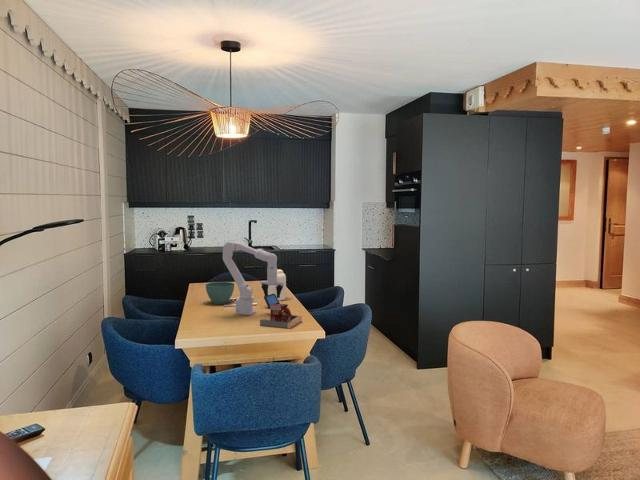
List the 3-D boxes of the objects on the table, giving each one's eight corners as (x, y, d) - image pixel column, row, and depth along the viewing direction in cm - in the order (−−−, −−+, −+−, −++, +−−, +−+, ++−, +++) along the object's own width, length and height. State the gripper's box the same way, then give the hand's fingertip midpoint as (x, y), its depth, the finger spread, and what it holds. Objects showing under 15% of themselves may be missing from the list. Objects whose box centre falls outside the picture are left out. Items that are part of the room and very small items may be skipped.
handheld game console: (277, 310, 292) (277, 298, 291) (263, 308, 297) (263, 296, 296) (288, 306, 303) (288, 294, 302) (274, 304, 308) (274, 293, 307)
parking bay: (259, 325, 254) (259, 319, 254) (272, 318, 269) (272, 313, 269) (290, 328, 249) (290, 322, 248) (301, 321, 264) (301, 316, 263)
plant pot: (237, 304, 306) (237, 285, 305) (208, 306, 299) (208, 287, 298) (231, 299, 323) (231, 281, 322) (203, 301, 316) (203, 282, 315)
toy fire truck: (288, 326, 254) (288, 306, 253) (267, 324, 258) (267, 304, 257) (293, 323, 260) (293, 304, 260) (272, 321, 264) (272, 302, 264)
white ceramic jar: (265, 300, 318) (265, 270, 317) (269, 297, 330) (269, 268, 329) (283, 301, 316) (283, 271, 315) (287, 297, 329) (287, 268, 327)
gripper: (257, 274, 279) (258, 297, 281) (280, 276, 274) (280, 299, 276) (263, 273, 286) (263, 295, 287) (285, 274, 281) (285, 297, 282)
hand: (272, 297), depth 282 cm, fingers open, 7 cm apart
